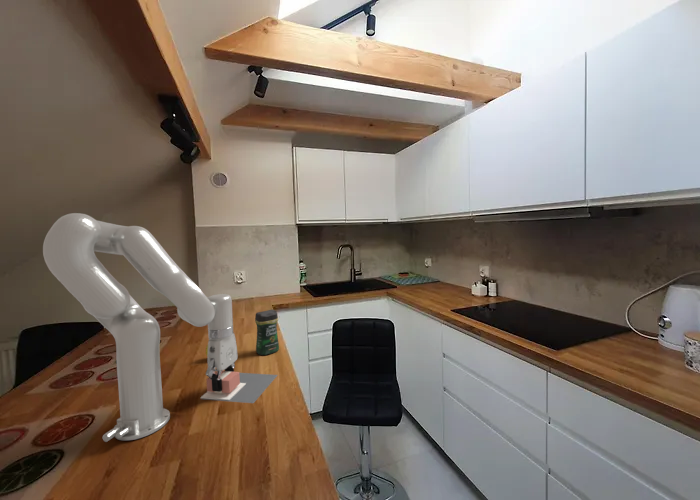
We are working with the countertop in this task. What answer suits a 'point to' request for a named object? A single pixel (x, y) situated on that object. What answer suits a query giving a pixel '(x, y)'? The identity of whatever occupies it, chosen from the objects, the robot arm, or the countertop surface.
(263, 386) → the mat
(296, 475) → the countertop surface
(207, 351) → the lemon
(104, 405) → the countertop surface
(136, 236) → the robot arm
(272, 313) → the coffee jar
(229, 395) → the pad
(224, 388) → the card box
